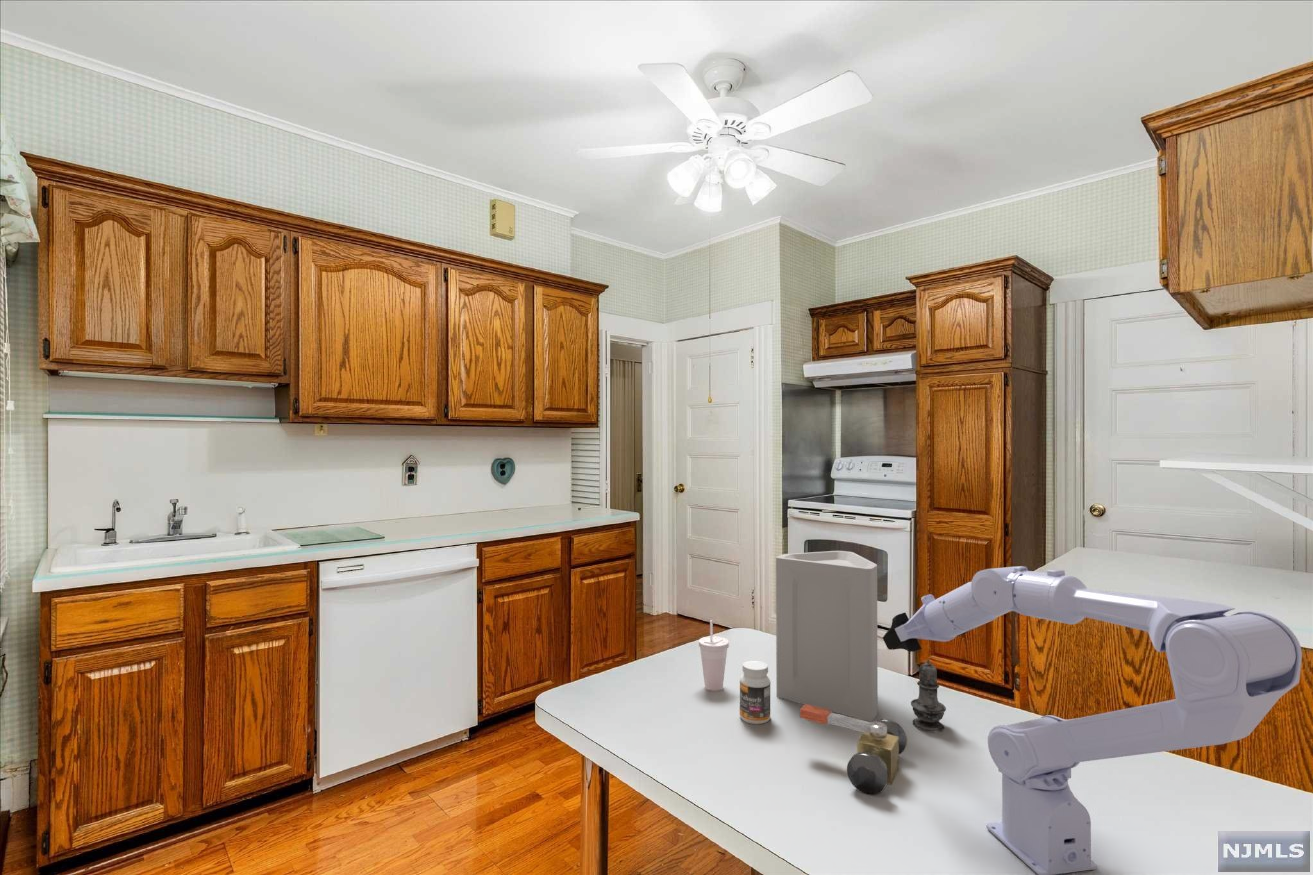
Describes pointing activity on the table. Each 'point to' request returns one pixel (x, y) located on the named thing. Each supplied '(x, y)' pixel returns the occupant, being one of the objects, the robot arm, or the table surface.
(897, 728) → the valve
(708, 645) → the smoothie
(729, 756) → the table surface
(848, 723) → the valve lever
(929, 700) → the salt shaker
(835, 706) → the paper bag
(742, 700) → the pill bottle
